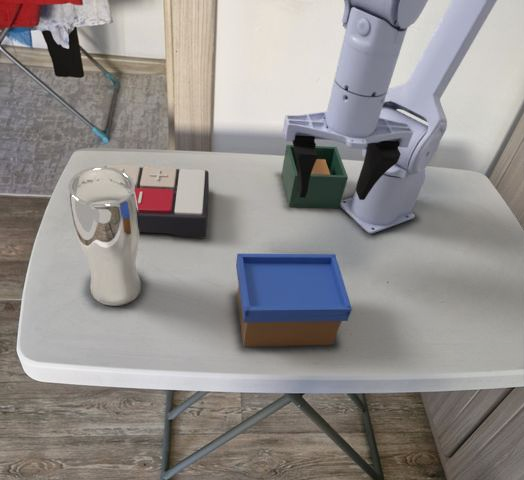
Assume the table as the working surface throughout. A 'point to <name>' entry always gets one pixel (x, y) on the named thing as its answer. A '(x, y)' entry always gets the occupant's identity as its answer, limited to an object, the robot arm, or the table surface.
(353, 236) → the table surface
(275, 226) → the table surface
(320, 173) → the block
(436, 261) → the table surface
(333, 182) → the green storage bin
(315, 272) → the lidded box
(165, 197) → the calculator
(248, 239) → the table surface
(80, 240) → the beer glass
